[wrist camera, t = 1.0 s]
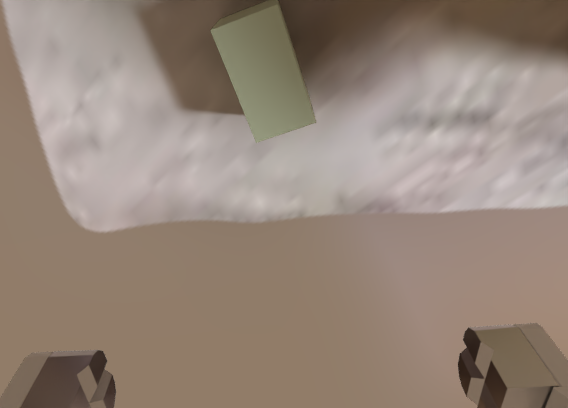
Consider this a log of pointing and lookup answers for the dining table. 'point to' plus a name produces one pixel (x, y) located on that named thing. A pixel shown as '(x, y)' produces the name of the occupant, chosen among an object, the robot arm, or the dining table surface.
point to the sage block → (264, 70)
